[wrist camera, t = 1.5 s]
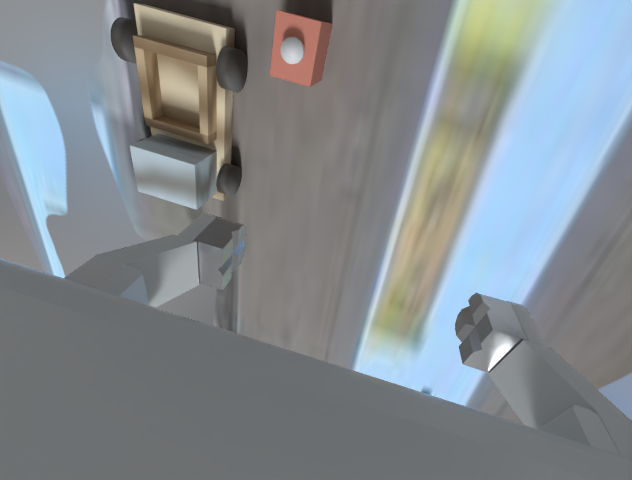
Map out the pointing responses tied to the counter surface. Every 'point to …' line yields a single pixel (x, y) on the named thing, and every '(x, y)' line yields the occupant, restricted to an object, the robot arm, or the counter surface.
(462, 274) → the counter surface
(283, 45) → the block
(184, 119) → the chassis
